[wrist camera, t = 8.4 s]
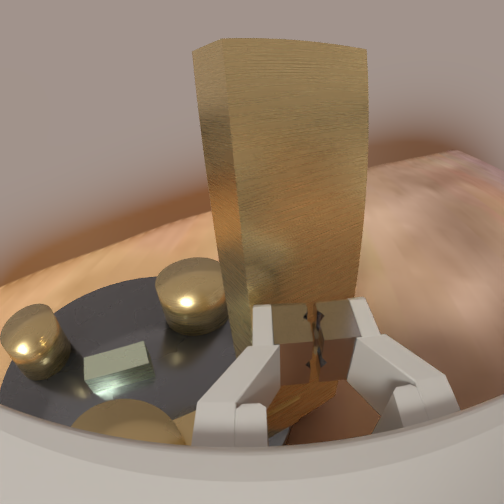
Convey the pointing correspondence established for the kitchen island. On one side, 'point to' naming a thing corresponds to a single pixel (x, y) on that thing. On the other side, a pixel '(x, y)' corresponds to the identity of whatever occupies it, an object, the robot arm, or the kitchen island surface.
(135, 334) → the levelling plate
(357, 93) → the lever knob
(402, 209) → the kitchen island surface
